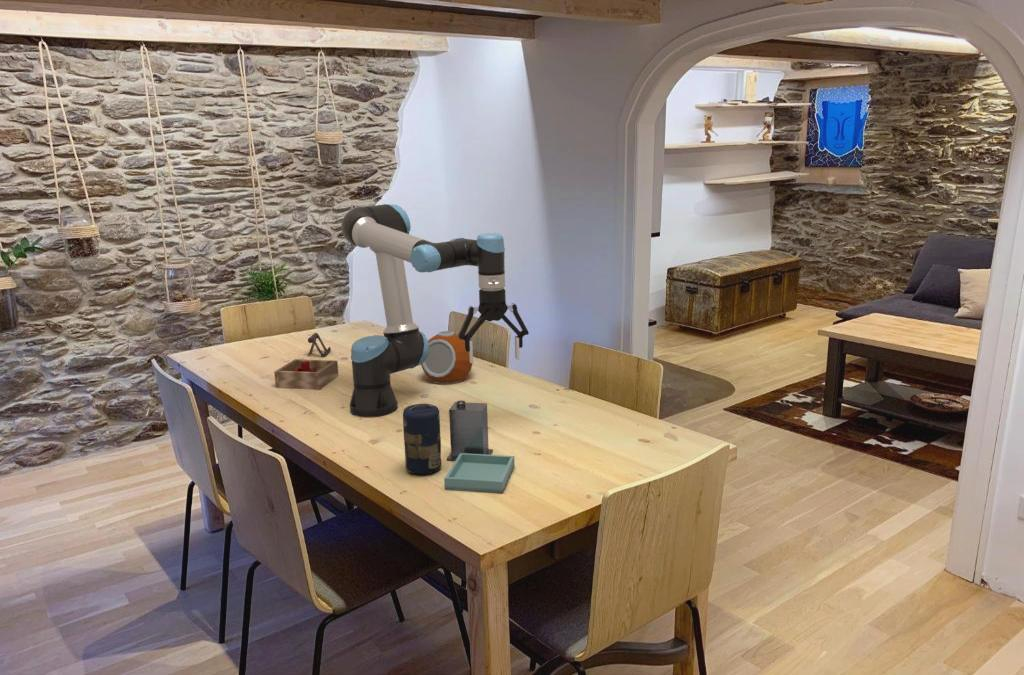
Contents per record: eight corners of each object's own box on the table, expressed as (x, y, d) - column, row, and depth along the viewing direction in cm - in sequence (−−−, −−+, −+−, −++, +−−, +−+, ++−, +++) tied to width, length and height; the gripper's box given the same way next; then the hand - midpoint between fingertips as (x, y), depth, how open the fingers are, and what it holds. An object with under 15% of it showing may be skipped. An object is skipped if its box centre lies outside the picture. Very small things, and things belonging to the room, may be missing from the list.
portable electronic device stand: (325, 357, 303) (323, 337, 301) (306, 358, 303) (304, 338, 301) (331, 351, 311) (329, 332, 309) (312, 352, 311) (310, 332, 309)
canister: (406, 462, 200) (402, 399, 195) (442, 460, 201) (439, 397, 196) (404, 478, 191) (400, 411, 186) (442, 475, 191) (438, 409, 187)
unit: (446, 460, 201) (444, 406, 197) (454, 449, 208) (452, 396, 204) (486, 463, 198) (484, 408, 195) (492, 451, 206) (491, 398, 202)
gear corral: (275, 387, 265) (274, 371, 264) (296, 374, 281) (295, 359, 279) (320, 389, 262) (318, 373, 261) (338, 376, 277) (337, 360, 276)
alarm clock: (412, 383, 267) (410, 336, 263) (435, 369, 283) (433, 325, 279) (460, 388, 260) (459, 340, 256) (481, 374, 276) (480, 328, 272)
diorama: (328, 384, 268) (326, 362, 266) (293, 388, 265) (291, 365, 263) (326, 375, 278) (324, 354, 276) (293, 379, 275) (291, 357, 273)
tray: (444, 489, 184) (444, 478, 183) (460, 463, 199) (460, 453, 198) (502, 493, 181) (502, 481, 180) (514, 466, 196) (514, 456, 195)
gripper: (449, 293, 206) (453, 366, 211) (537, 288, 210) (538, 360, 216) (447, 288, 213) (450, 359, 219) (532, 283, 217) (533, 353, 223)
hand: (494, 360), depth 217 cm, fingers open, 13 cm apart
